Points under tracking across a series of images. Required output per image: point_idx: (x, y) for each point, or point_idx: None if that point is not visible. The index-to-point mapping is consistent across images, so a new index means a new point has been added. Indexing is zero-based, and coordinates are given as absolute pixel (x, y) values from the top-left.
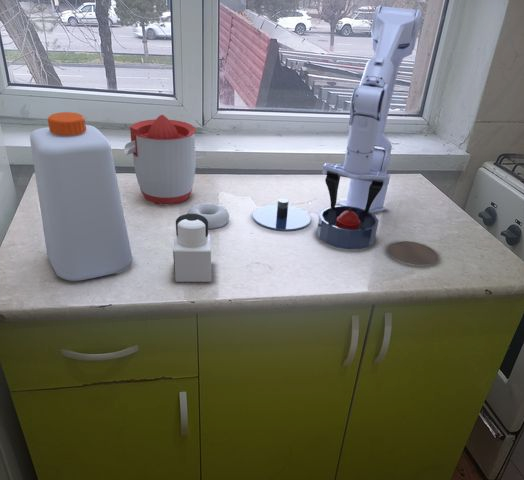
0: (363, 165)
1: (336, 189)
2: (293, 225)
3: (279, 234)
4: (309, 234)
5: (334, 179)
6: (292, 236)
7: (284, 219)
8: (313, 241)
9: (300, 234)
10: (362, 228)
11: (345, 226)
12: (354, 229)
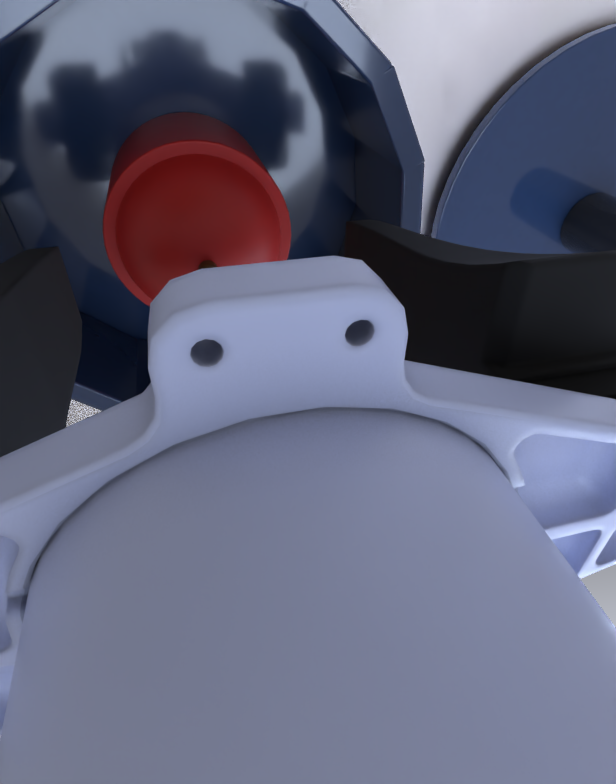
0: (91, 741)
1: (410, 339)
2: (526, 135)
3: (592, 7)
4: (410, 116)
5: (526, 335)
6: (511, 21)
7: (575, 190)
8: (370, 12)
9: (463, 84)
10: (137, 340)
11: (189, 137)
12: (119, 168)
